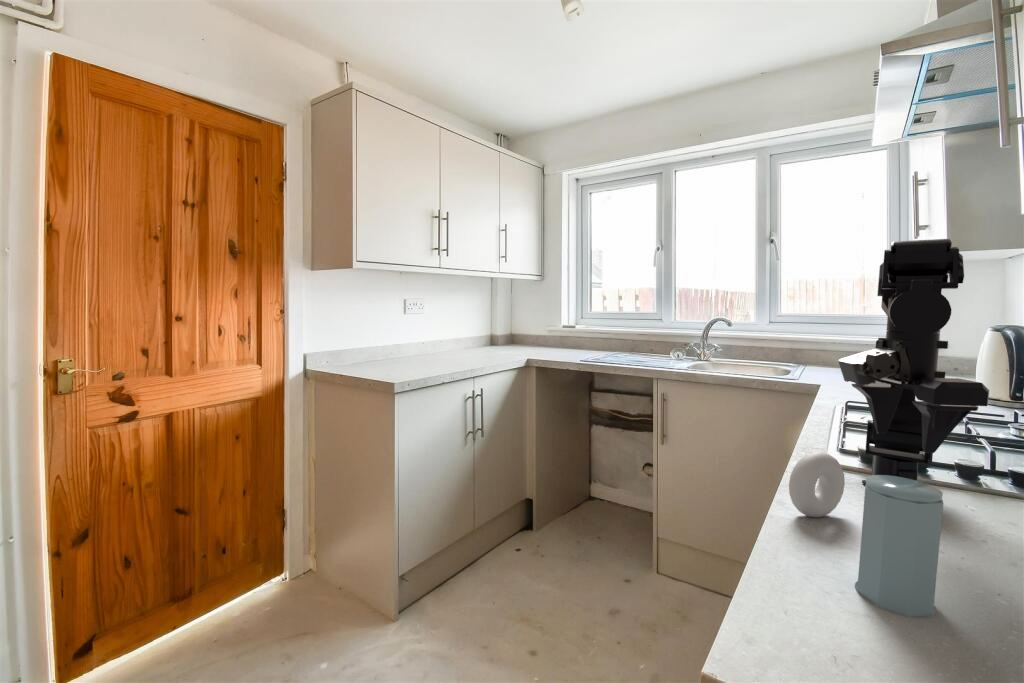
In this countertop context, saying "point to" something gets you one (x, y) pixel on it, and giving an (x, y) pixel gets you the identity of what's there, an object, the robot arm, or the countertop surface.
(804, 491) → the donut
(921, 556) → the dome-topped hexagonal post
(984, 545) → the countertop surface
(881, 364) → the robot arm
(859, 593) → the slate coaster
